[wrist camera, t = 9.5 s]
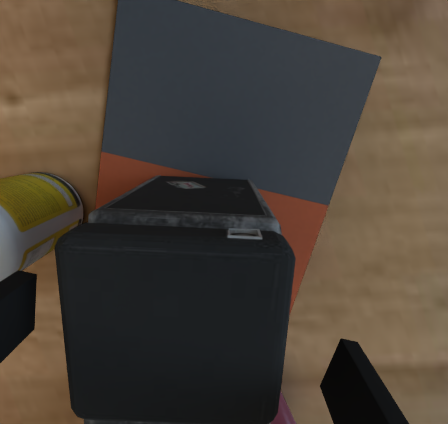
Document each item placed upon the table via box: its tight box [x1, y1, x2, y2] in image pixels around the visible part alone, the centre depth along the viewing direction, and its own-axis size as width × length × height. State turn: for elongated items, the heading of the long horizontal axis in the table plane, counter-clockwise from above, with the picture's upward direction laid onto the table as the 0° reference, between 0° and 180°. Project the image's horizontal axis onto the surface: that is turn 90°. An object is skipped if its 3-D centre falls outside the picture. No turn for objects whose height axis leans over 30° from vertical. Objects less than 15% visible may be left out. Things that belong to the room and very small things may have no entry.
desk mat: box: [95, 0, 381, 315], centre depth 23 cm, size 20×26×1 cm
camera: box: [55, 175, 296, 424], centre depth 17 cm, size 10×10×15 cm
